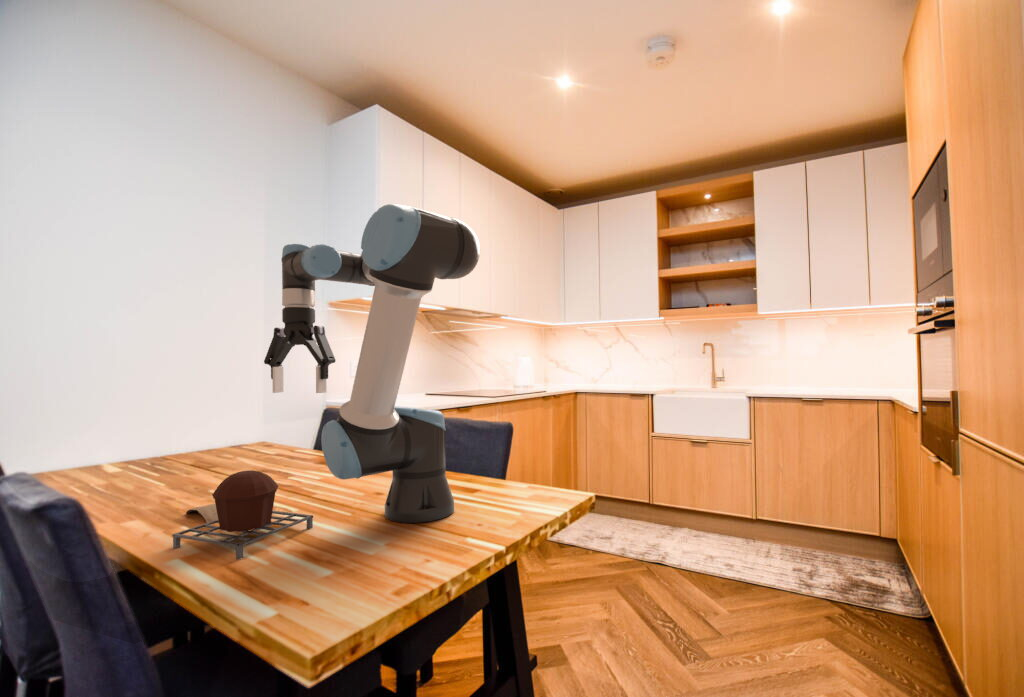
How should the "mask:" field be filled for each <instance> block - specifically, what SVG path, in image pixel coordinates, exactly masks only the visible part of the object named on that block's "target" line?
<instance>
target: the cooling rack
mask: <svg viewBox="0 0 1024 697" xmlns="http://www.w3.org/2000/svg"><path fill="white" fill-rule="evenodd" d="M274 514H275V515H283V516H284V517H283V516H274ZM294 517H299V518H301V519H298V518H294ZM313 518H314V515H312V514H303V513H295V512H290V511H289V512H288V511H287V512H286V511H280V510H273V511H272V518H271V523H269V524H266V525H264V526H263V527H261V528H256V529H251V530H247V531H236V532H235V533H239V534H237V535H233V534H229V533H222V532H216V531H218V530H220V526H219V525H214V524H219V520H218V519H217V520H214V521H211V522H208V523H207V522H205V523H203V524H200V525H196V526H194V527H191V528H187V529H184V530H181V531H177V532H176V533H172V534H171V535H172V536H171V537H172V539H173V541H172V542H173V544H172V547H173V548H172V549H178V548H181V542H182V541H181V539H185V540H192V541H197V542H204V543H211V544H215V545H220V546H221V545H222V546H229V547H235V559H236V560H239V559H240V560H242V559H244V546H246V545H249V544H251V543H253V542H256V541H258V540H261V539H263V538H266V537H268V536H271V535H274V534H275V533H278V532H281V531H283V530H286V529H289V528H291V527H293V526H296V525H298V524H301V523H303V522H306V529H307V530H311V529H313V527H314V526H313V521H314V520H313ZM272 519H273V520H274V521H272ZM284 521H287V523H286V522H284ZM288 521H289V522H291V523H288ZM273 525H274V526H280V527H271V526H273ZM202 528H206V529H207V528H208V530H201V529H202ZM310 528H311V529H310ZM260 530H265V531H268V532H261V531H260ZM187 533H196V534H193V535H188V534H187ZM203 535H209V536H215V537H221V538H222V537H223V538H227V539H223V540H220V539H213V538H207V537H201V536H203ZM248 535H255V537H249V536H248ZM235 540H241V541H242V542H240V543H239V542H233V541H235ZM241 558H242V559H241Z"/></svg>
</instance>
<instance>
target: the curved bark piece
mask: <svg viewBox="0 0 1024 697" xmlns="http://www.w3.org/2000/svg"><path fill="white" fill-rule="evenodd" d="M194 512H198V513H199V514H200V515H201V516H202V517H203V518H204V520H205V523H208V522H211V521H214V520H217V519H218V515H217V510H216V504H215V503H212V504H207V505H202V506H197V507H193V508H191V509H188V510H186V512H185V513H186V514H190V513H194Z"/></svg>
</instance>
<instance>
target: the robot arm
mask: <svg viewBox="0 0 1024 697" xmlns="http://www.w3.org/2000/svg"><path fill="white" fill-rule="evenodd" d="M362 233H363V234H362V238H361V243H360V249H361V250H362V251H361V253H355V252H348V251H343V250H338V249H336V248H334V247H333V246H331V245H330V244H326V243H325V244H324V243H321V244H315V245H312V246H310V245H307V244H302V243H291V244H286V245H283V247H282V255H281V276H282V277H281V278H282V280H281V286H282V288H281V289H282V290H281V291H282V292H281V294H282V297H281V302H282V303H281V304H282V306H283V308H282V309H281V311H282V312H281V314H282V317H281V319H282V322H283V324H284V328H283V327H274V329H273V337H272V340H271V341H270V344H269V347H268V349H267V353H266V355H265V358H264V361H263V363H264V365H269V366H270V378H271V380H272V394H277V393H284V366H283V362H284V361H285V359H286V358H287V356H288V354H289V353H290V351H291V350H292V348H294V347H295V346H300V345H302V346H305V347H306V348H307V350H308V351H309V353H310V354H311V355H312V357H313V358H314V359H315V361H316V362H317V364H316V366H315V393H316V394H325V393H327V380H328V379H329V366H330V365H331V364H333V363H336V357H335V355H334V353H333V351H332V348H331V345H330V343H329V340H328V338H327V336H326V330H325V326H323V325H314V324H315V322H316V310H315V308H314V307H316V298H315V297H316V292H315V291H316V288H315V287H316V281H318V280H322V281H330V282H339V283H349V284H356V285H357V284H358V285H366V286H370V287H374V288H373V293H372V294H373V295H372V298H371V303H370V308H369V313H368V316H367V321H366V325H365V331H364V334H363V339H362V344H361V349H360V353H359V359H358V362H357V365H356V371H355V375H354V381H353V385H352V390H351V394H350V398H349V399H350V400H347V401H346V402H345V403H343V404H341V406H339V411H338V416H337V419H335V420H334V419H331V420H329V421H327V423H325V424H324V425H323V427H322V432H321V439H320V440H321V450H322V454H323V457H324V460H325V464H326V465H327V468H328V470H329V471H330V472H331V474H332V475H333V476H334V477H336V478H337V479H339V480H350V479H360V478H363V477H368V476H373V475H377V474H382V473H386V472H392V479H391V480H392V481H391V484H390V486H389V491H388V494H387V496H386V500H385V503H384V517H385V518H386V519H387V520H389V521H392V522H396V523H404V524H406V523H408V524H411V523H412V524H413V523H414V524H417V523H418V524H419V523H427V522H433V521H437V520H440V519H441V520H442V519H443V518H447V517H449V516H451V515H452V514H453V513H454V512H455V498H454V496H453V493H452V491H451V488H450V484H449V481H448V478H447V475H446V474H447V473H446V470H447V469H446V431H447V429H446V424H445V416H444V414H443V412H441V411H440V410H437V409H436V410H435V409H423V408H410V407H409V408H408V407H396V406H395V405H396V402H397V398H398V394H399V390H400V385H401V381H402V378H403V373H404V370H405V365H406V362H407V357H408V354H409V350H410V345H411V341H412V337H413V333H414V330H415V329H414V328H415V325H416V320H417V318H418V317H417V316H418V312H419V308H420V305H421V302H422V301H421V300H422V297H424V296H425V295H427V294H428V293H430V292H432V291H433V287H434V283H435V279H439V280H456V279H461V278H464V277H466V276H467V275H469V274H470V273H472V272H473V270H475V268H476V266H477V265H478V262H479V260H480V254H481V248H480V241H479V239H478V237H477V234H476V233H475V231H474V230H473V229H472V228H471V227H470V226H469V225H468V224H466V223H465V222H463V221H462V220H460V219H458V218H454V217H450V216H445V215H441V214H438V213H435V212H431V211H426V210H424V209H421V208H416V207H414V206H409V205H402V204H396V203H389V204H385V205H383V206H380V207H379V208H378V209H377V210H376V211H374V213H372V215H371V216H370V218H369V219H368V221H367V223H366V225H365V228H364V229H363V232H362ZM313 335H314V336H313Z"/></svg>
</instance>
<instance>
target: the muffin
mask: <svg viewBox="0 0 1024 697" xmlns="http://www.w3.org/2000/svg"><path fill="white" fill-rule="evenodd" d="M278 488H279V485H278V483H277V482H276V481H275V480H274V479H273V478H272V476H270V475H268V474H266V473H265V472H262V471H260V470H242V471H241V470H240V471H239V472H235V473H232V474H230V475H229V476H227V477H226V478H225V479H223V480H222V482H221V483H220V484H219V485H218V486H217V487H216V489H215V490H214V492H213V493H212V494H211V496H212V498H213V499H214V504H216V510H217V515H218V520H219V523H218V526H220V529H219V530H220V531H224V532H227V533H234V532H235V533H237V532H236V531H247V530H248V531H250V530H253V529H256V528H261V527H263V526H264V525H266V524H269V523H271V521H272V519H271V518H272V516H273V514H272V511H274V504H275V497H276V492H277V491H278Z"/></svg>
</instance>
